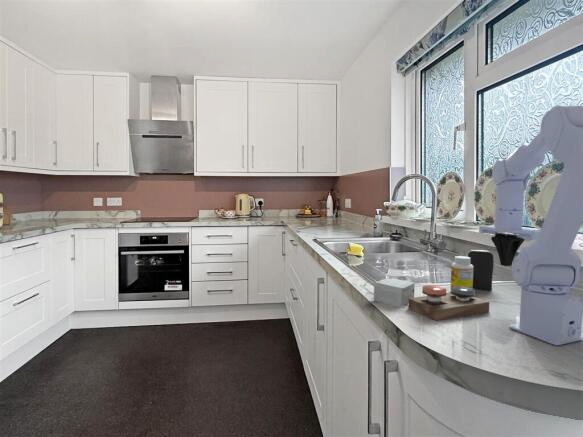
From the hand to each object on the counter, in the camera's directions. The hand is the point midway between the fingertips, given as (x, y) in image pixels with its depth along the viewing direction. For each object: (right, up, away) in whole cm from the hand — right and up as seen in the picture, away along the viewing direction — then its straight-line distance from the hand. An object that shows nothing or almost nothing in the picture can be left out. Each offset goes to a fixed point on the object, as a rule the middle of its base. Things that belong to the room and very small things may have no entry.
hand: (506, 265), depth 85 cm
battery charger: (+3, -9, +18) cm, 20 cm away
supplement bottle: (-5, -10, +13) cm, 17 cm away
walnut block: (-15, -11, -2) cm, 18 cm away
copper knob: (-19, -9, -4) cm, 22 cm away
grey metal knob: (-11, -10, 0) cm, 15 cm away
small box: (-26, -10, +5) cm, 28 cm away
